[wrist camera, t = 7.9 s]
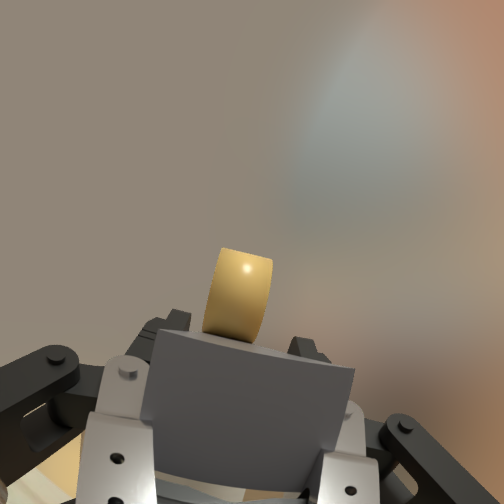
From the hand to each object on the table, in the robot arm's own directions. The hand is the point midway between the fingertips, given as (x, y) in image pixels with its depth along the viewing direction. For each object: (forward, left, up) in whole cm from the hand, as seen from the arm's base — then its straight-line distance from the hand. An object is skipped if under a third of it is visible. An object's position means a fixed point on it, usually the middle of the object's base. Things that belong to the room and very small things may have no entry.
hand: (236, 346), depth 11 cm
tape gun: (-3, +4, -3) cm, 6 cm away
